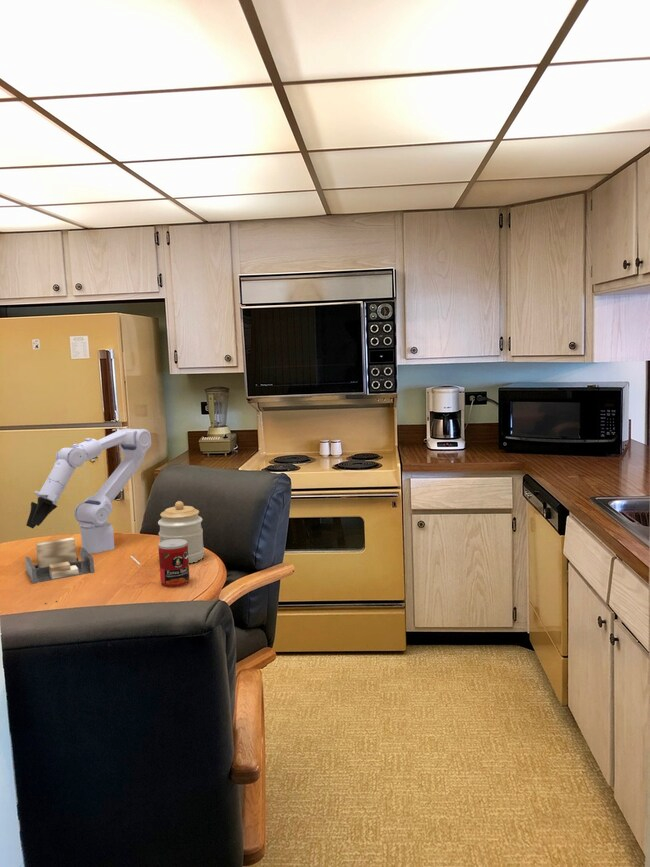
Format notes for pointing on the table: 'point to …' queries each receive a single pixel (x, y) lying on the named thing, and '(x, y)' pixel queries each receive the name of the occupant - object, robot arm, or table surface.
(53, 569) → the offcut upper
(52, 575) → the offcut lower
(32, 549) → the table surface
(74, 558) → the wooden block
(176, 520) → the jar
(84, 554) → the rack
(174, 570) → the canned food
